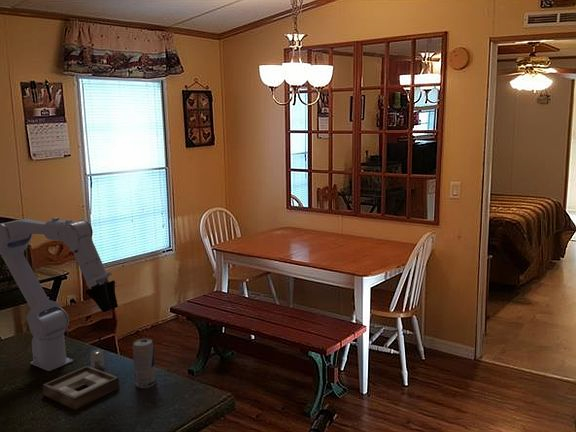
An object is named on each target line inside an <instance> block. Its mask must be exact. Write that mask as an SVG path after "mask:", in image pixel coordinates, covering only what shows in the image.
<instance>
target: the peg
mask: <svg viewBox="0 0 576 432" xmlns="http://www.w3.org/2000/svg"><path fill="white" fill-rule="evenodd" d="M89 359H90V367H93V368H95V369H98V370H100V371H103V370H105V356H104V350H102V349H95V350H92V351H90V352H89Z"/></svg>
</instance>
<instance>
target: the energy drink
mask: <svg viewBox="0 0 576 432" xmlns="http://www.w3.org/2000/svg"><path fill="white" fill-rule="evenodd" d="M132 355H133V366H134V368H133V369H134V370H133V371H134V383H135V384H134V385H135V386H136V387H137V388H139V389H148V388H152V387H154V386H155V385H156V382H157V381H156V379H157V375H156V362H155V361H156V360H155V347H154V342H153V339H151V338H148V337H147V338H146V337H145V338H139V339H136V340H133V344H132Z"/></svg>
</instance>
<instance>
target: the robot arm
mask: <svg viewBox="0 0 576 432" xmlns="http://www.w3.org/2000/svg"><path fill="white" fill-rule="evenodd" d="M93 234H94V232H93V227H92V225H91V224H90V223H89V221H86V220H83V219H80V220H78V221H76V222H75V221H73V220H72V219H66V220H63V219H62V220H61V219H60V218H59V217H51V219H49V220H47V221H46V222H44V221H40V220H35V219H31V218H20V219H17V220H16V219H15V220H11V221H7V222H2V223H0V256H1V257H2V260H3V261H4V263H5V265H6V267H7V269H8V270H9V272H10V273H11V276H12V278H13V279H14V281H15V283H16V285H17V286H18V289H19V290H20V292H21V294H22V295H23V297H24V300H25V301H26V303H27V305H28V307H29V312H28V313H27V316H26V317H25V320H26V322H27V323H28V328H29V332H30V334H31V335H32V336H33V337H32V339H31V349H32V359H33V360H32V361H30V365H32V366H35V367H38V368H40V369H42V370H45V371H46V372H47V371H48V372H50V371H53V370H56V369H58V368H60V367H64V366H65V365H68V364H70V363H72V362H73V360H74V359H72V358H70V357H68V356H67V353H66V341H65V340H66V339H65V332H66V331H67V327H68V326H69V324H70V317H69V314H68V312H67V311H66V310H65V309H63V307H62V306H61V305H60V303H59V302H58V301H54V300H51V299H49V297H48V296H47V294H46V292H45V290H44V289H43V287H42V285H41V283H40V281H39V279H38V278H37V276H36V274H35V272H34V271H33V269H32V267H31V265H30V263H29V262H28V260H27V258H26V256H25V254H24V253H25V250H26V249H27V248H29V244H30V243H31V242H30V241H31V240H32V237H33V235H44V237H45V238H46V239H47V240H50V241H56V242H63V244H64V245H66V247H68V249H69V251H71V253H73V255H74V257H75V258H74V259H75V260H76V262H77V265H78V266H79V269H80V271H81V274H82V276H83V279H84V281H85V285H86V287H88V288H89V289H86V290H84V292H85V294H86V295H87V296H88V297H90V298H91V299H92V300H93V302H95V304H96V305H97V307H98V308H99V309H100V311H102V313H104V314H105V313H106V312H109V311H111V310H114V309H116V308H117V307H118V305H119V304H118V301H117V295H116V281H115V280H111V281H110V279H109V277H110V276H112V275H113V273H112V271H110V272H107V271H106V268H105V266H104V263H103V262H102V260H101V257H100V255H99V253H98V250H97V248H96V245H95V244H94V241H93V239H92V238H93Z"/></svg>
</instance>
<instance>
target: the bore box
mask: <svg viewBox="0 0 576 432" xmlns="http://www.w3.org/2000/svg"><path fill="white" fill-rule="evenodd" d="M82 386H87V387H86V388H84V389H82V390H79V391H78V390H76V389H78V388H80V387H82ZM119 389H120V379H119V376H116V375H114V374H111V373H108V372H106V371H103V370H101V371H100V370H98V369H95V368H93V367H91V365H90V366H89V365H85V366H83V367H81V368H78V369H76V370H74V371H71V372H69V373H67V374H64V375H62V376H60V377H57V378H55V379H52V380H49V381H48V382H46V383H43V384H42V390H43V391H42V392H43V396H45V397H47V398H49V399H51V400H53V401H55V402H58V403H60V404H61V405H64V406H65V407H69V408H70V409H73V410H75V411H76V410H78V409H80V408H82V407H84V406H86V405H88V404H90V403H92V402H94V401H96V400H98V399H100V398H102V397H104V396H107V395H108V394H110V393H112V392H114V391H116V390H119Z"/></svg>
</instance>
